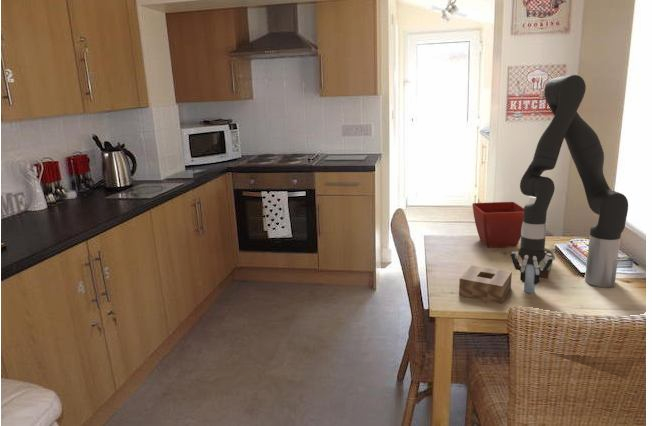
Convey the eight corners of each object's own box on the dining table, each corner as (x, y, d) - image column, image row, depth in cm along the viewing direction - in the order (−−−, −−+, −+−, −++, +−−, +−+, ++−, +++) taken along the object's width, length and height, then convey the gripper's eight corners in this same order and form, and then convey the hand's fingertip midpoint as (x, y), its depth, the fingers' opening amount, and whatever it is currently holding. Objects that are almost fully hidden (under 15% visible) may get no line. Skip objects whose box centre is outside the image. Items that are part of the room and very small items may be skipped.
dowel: (535, 290, 164) (537, 263, 161) (533, 294, 161) (535, 266, 159) (524, 288, 166) (526, 261, 163) (522, 292, 163) (524, 264, 160)
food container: (558, 276, 175) (560, 250, 173) (552, 281, 171) (554, 254, 168) (524, 268, 183) (526, 244, 181) (518, 273, 179) (519, 248, 177)
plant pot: (470, 237, 223) (471, 202, 219) (511, 236, 223) (513, 201, 219) (482, 250, 205) (483, 212, 201) (526, 249, 204) (529, 211, 200)
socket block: (510, 287, 166) (511, 271, 165) (501, 303, 155) (502, 286, 154) (470, 280, 174) (471, 265, 172) (458, 294, 163) (459, 278, 161)
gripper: (558, 234, 158) (553, 282, 162) (513, 229, 165) (510, 275, 169) (554, 240, 151) (550, 290, 156) (508, 235, 159) (505, 282, 163)
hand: (529, 282), depth 163 cm, fingers closed on dowel, 3 cm apart
